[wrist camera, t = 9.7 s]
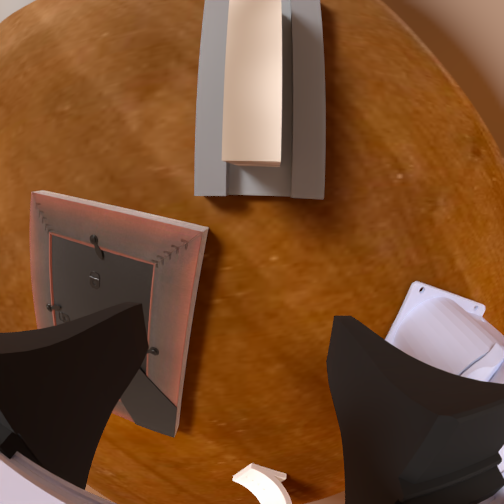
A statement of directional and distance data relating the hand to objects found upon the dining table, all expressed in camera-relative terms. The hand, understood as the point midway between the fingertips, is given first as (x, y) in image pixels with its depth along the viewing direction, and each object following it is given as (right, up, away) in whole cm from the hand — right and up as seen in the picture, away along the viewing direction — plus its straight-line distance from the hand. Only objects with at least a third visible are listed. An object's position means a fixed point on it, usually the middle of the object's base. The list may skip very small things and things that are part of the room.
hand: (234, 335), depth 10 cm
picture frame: (-13, -3, +14) cm, 19 cm away
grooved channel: (+1, +15, +7) cm, 16 cm away
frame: (+1, +14, +6) cm, 16 cm away
